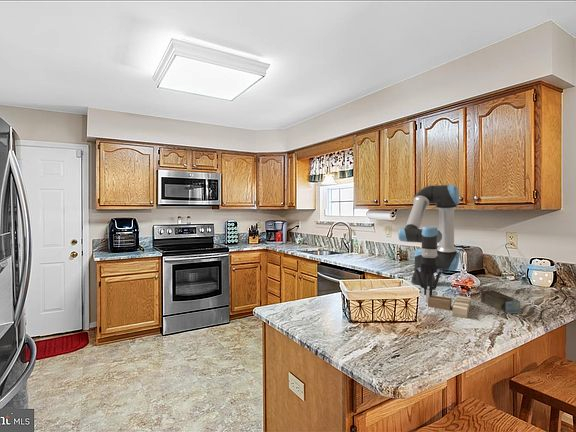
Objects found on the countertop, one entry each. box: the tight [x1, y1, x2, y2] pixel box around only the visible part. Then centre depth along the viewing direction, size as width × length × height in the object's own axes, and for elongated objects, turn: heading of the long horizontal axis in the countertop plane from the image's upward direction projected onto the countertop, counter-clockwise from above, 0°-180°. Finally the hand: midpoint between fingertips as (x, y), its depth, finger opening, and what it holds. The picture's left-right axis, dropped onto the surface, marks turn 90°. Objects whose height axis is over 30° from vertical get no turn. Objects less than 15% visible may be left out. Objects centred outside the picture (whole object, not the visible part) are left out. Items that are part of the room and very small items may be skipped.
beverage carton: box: [480, 290, 521, 314], centre depth 172 cm, size 8×19×7 cm, turn 4°
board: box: [451, 295, 472, 319], centre depth 166 cm, size 24×6×4 cm, turn 148°
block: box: [427, 294, 452, 311], centre depth 171 cm, size 7×10×4 cm
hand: (428, 301), depth 175 cm, fingers closed
